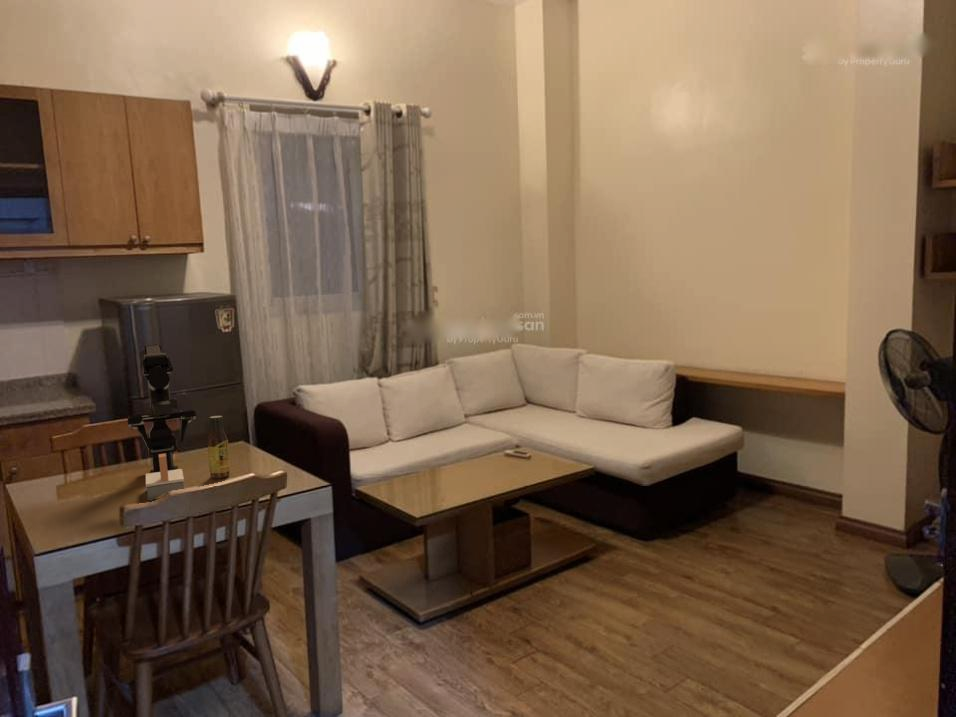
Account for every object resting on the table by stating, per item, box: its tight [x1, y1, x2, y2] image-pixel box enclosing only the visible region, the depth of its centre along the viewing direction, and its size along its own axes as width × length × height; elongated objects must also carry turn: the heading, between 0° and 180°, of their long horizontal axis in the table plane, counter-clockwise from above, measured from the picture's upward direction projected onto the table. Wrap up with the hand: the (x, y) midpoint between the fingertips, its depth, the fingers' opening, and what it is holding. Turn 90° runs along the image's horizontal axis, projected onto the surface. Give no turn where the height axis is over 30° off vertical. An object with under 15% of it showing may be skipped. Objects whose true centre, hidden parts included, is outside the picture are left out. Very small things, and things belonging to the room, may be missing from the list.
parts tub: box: [146, 481, 185, 501], centre depth 219 cm, size 12×10×4 cm
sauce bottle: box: [207, 415, 231, 479], centre depth 233 cm, size 6×6×20 cm
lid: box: [145, 453, 185, 488], centre depth 218 cm, size 12×10×8 cm
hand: (165, 445), depth 214 cm, fingers open, 9 cm apart
